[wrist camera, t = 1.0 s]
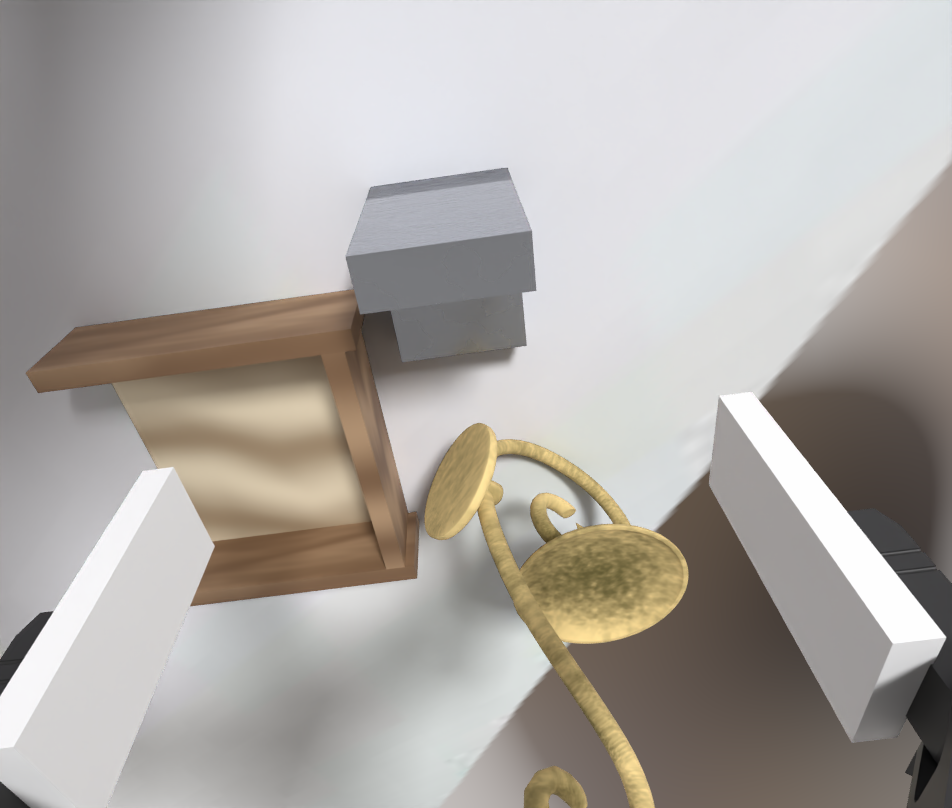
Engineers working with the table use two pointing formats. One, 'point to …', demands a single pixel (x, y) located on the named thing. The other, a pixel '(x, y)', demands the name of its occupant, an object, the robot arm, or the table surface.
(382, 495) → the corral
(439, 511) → the wall sconce
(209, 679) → the table surface
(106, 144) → the table surface
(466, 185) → the angle bracket
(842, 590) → the robot arm
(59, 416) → the table surface
